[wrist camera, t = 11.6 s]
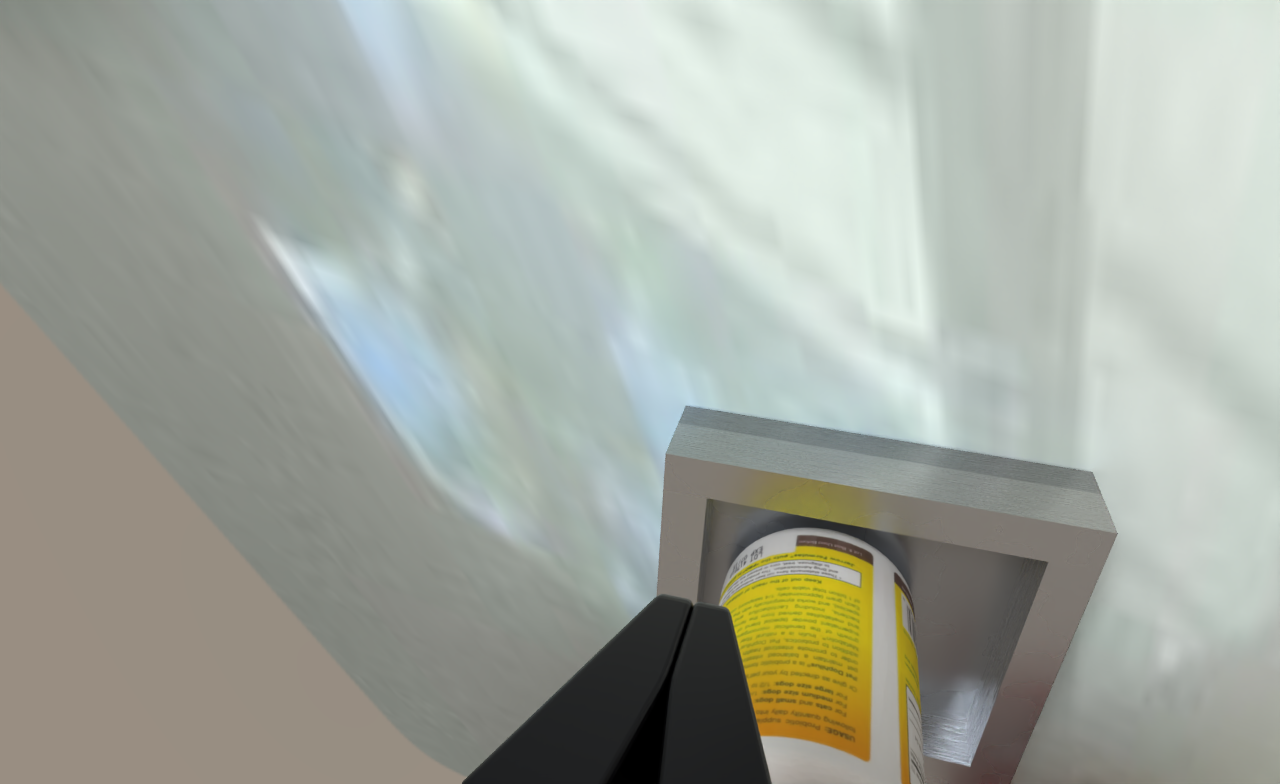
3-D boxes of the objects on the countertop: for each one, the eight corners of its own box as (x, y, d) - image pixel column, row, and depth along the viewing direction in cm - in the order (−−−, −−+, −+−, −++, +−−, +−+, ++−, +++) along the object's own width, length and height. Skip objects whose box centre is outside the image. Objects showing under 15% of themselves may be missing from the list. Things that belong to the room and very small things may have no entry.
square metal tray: (1092, 472, 21) (1117, 533, 19) (991, 730, 26) (1002, 802, 24) (685, 405, 23) (666, 453, 21) (666, 655, 28) (649, 715, 26)
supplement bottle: (689, 574, 25) (589, 905, 16) (824, 485, 22) (791, 829, 13) (810, 684, 26) (777, 1052, 17) (956, 611, 23) (1002, 1009, 14)
